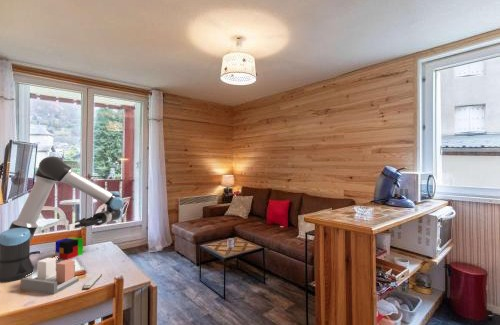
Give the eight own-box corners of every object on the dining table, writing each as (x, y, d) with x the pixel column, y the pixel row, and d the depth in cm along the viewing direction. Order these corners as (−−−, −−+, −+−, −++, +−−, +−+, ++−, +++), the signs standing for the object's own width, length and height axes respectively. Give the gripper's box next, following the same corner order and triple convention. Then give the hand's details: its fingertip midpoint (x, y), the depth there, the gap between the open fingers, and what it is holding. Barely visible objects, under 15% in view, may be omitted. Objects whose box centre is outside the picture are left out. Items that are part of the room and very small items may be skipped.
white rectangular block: (48, 274, 129) (48, 257, 129) (56, 275, 128) (57, 258, 128) (37, 279, 123) (37, 261, 123) (45, 280, 122) (46, 262, 122)
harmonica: (95, 276, 132) (95, 272, 132) (101, 276, 133) (102, 272, 133) (82, 290, 118) (82, 286, 118) (89, 290, 118) (89, 286, 118)
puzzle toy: (55, 257, 156) (55, 241, 156) (71, 252, 165) (71, 236, 165) (67, 259, 153) (67, 243, 153) (82, 254, 162) (83, 238, 162)
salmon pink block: (66, 277, 127) (67, 259, 126) (75, 278, 126) (75, 260, 126) (56, 282, 121) (56, 263, 121) (64, 283, 120) (65, 264, 120)
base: (48, 277, 130) (48, 267, 130) (78, 281, 126) (78, 271, 126) (20, 289, 117) (21, 279, 117) (53, 294, 113) (54, 283, 113)
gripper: (110, 224, 158) (78, 235, 135) (92, 223, 161) (58, 233, 138) (110, 212, 158) (78, 221, 135) (93, 211, 161) (58, 220, 138)
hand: (68, 227), depth 136 cm, fingers closed
